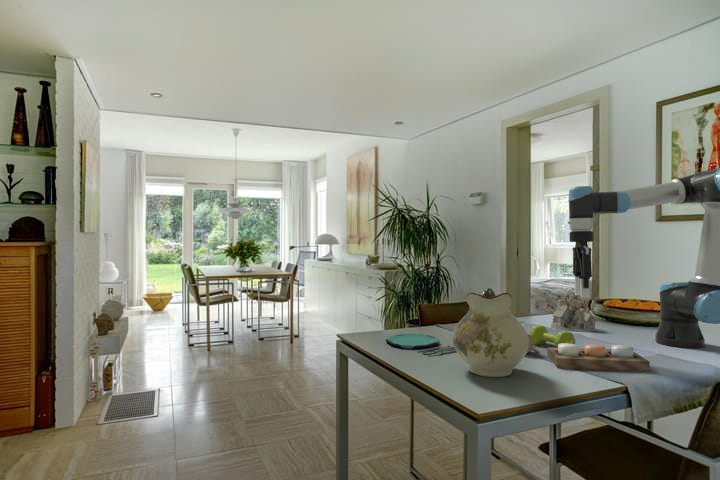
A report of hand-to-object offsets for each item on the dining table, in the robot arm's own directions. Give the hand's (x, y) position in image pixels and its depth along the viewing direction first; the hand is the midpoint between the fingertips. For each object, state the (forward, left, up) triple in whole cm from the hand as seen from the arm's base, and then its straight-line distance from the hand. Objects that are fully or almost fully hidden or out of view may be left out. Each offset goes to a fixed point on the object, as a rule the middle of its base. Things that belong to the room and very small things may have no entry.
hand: (582, 296), depth 155 cm
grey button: (-8, +13, -18) cm, 24 cm away
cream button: (+8, +13, -18) cm, 24 cm away
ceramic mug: (+21, 0, -20) cm, 29 cm away
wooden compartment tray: (0, +13, -20) cm, 24 cm away
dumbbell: (+9, -7, -20) cm, 23 cm away
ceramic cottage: (-8, -45, -20) cm, 50 cm away
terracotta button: (0, +13, -18) cm, 23 cm away
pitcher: (+34, +26, -20) cm, 47 cm away
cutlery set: (+57, -3, -21) cm, 61 cm away
